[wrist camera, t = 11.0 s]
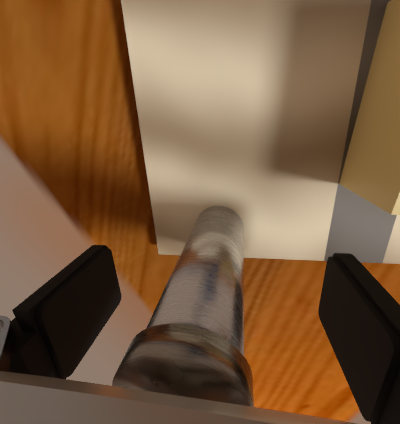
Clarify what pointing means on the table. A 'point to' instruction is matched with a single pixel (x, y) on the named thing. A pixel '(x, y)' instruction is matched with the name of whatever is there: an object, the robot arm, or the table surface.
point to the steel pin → (197, 321)
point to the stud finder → (379, 124)
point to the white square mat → (257, 121)
